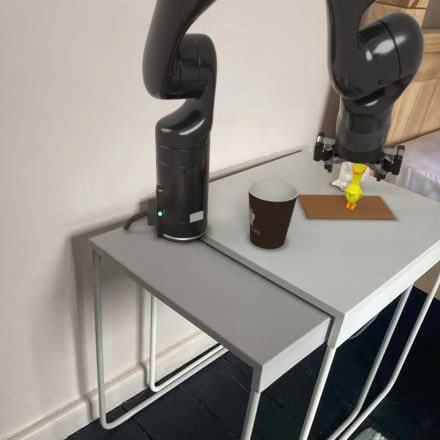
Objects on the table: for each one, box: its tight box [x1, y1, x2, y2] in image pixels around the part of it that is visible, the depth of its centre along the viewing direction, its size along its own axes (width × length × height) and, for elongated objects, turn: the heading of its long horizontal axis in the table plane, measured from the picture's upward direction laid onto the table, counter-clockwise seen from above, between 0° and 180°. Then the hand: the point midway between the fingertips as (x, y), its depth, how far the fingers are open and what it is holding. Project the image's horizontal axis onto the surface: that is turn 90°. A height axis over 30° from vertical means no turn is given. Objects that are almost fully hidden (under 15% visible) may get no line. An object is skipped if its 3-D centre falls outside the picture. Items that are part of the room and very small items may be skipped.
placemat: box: [297, 194, 396, 221], centre depth 104 cm, size 18×10×1 cm, turn 94°
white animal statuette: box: [331, 162, 371, 192], centre depth 109 cm, size 8×7×12 cm
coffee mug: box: [248, 179, 299, 250], centre depth 90 cm, size 12×9×10 cm
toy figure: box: [343, 163, 367, 209], centre depth 100 cm, size 7×4×12 cm, turn 152°
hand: (354, 172), depth 88 cm, fingers open, 8 cm apart
